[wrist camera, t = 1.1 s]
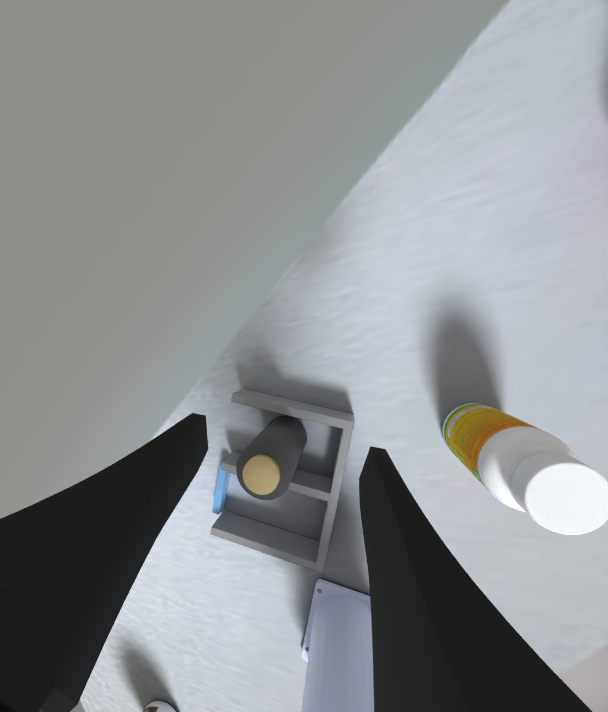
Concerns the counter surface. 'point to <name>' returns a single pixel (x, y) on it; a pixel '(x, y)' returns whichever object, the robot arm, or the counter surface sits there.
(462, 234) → the counter surface
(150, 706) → the supplement bottle
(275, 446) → the plug
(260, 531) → the grey divided frame
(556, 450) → the supplement bottle
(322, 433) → the counter surface
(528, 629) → the counter surface
